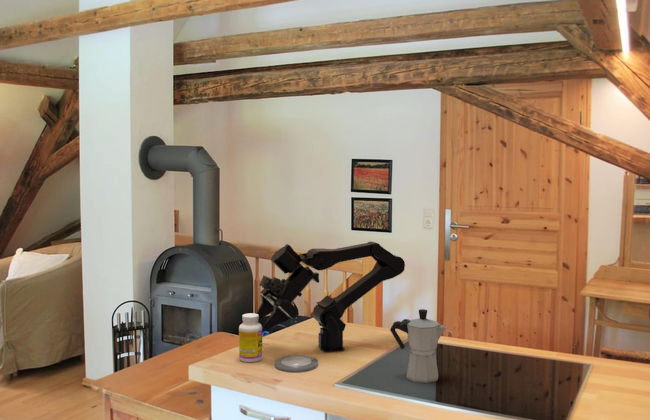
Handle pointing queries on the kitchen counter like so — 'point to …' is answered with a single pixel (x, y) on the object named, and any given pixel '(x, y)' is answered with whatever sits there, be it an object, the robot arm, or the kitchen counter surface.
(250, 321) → the supplement bottle
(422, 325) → the coffee maker
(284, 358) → the gray plate
